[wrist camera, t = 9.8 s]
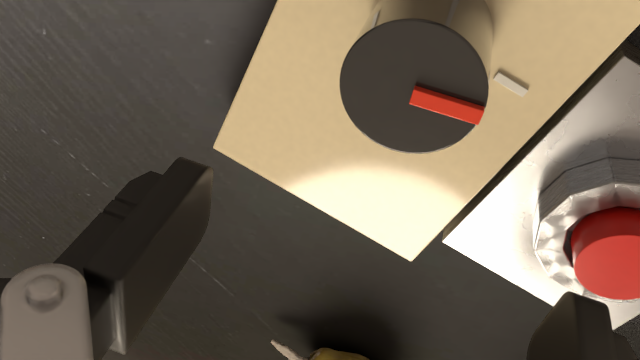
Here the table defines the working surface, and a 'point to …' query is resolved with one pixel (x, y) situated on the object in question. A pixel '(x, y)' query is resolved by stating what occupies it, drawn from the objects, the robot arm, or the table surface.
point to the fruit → (317, 353)
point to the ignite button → (608, 253)
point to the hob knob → (419, 73)
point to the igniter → (561, 187)
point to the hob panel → (392, 166)
